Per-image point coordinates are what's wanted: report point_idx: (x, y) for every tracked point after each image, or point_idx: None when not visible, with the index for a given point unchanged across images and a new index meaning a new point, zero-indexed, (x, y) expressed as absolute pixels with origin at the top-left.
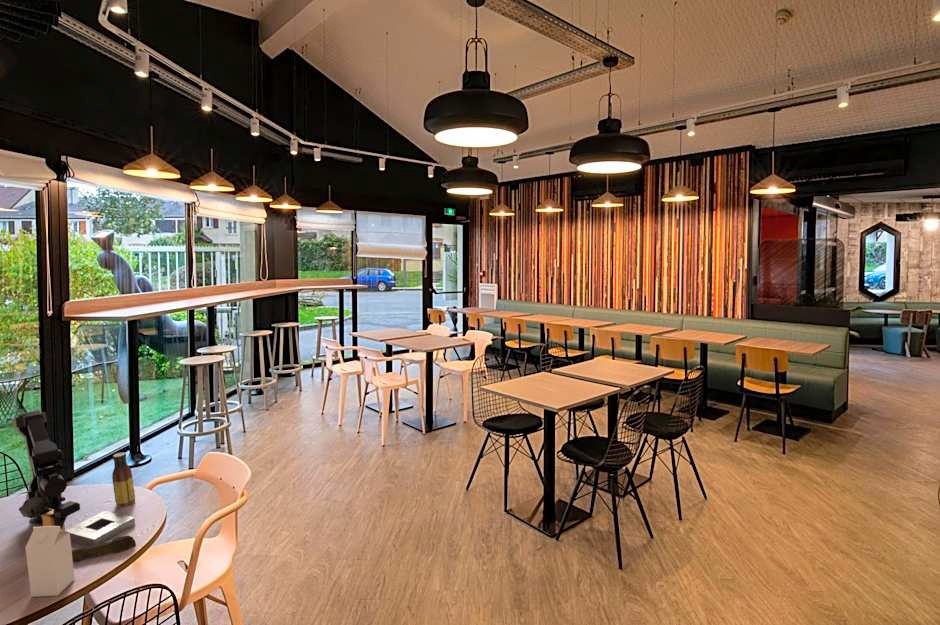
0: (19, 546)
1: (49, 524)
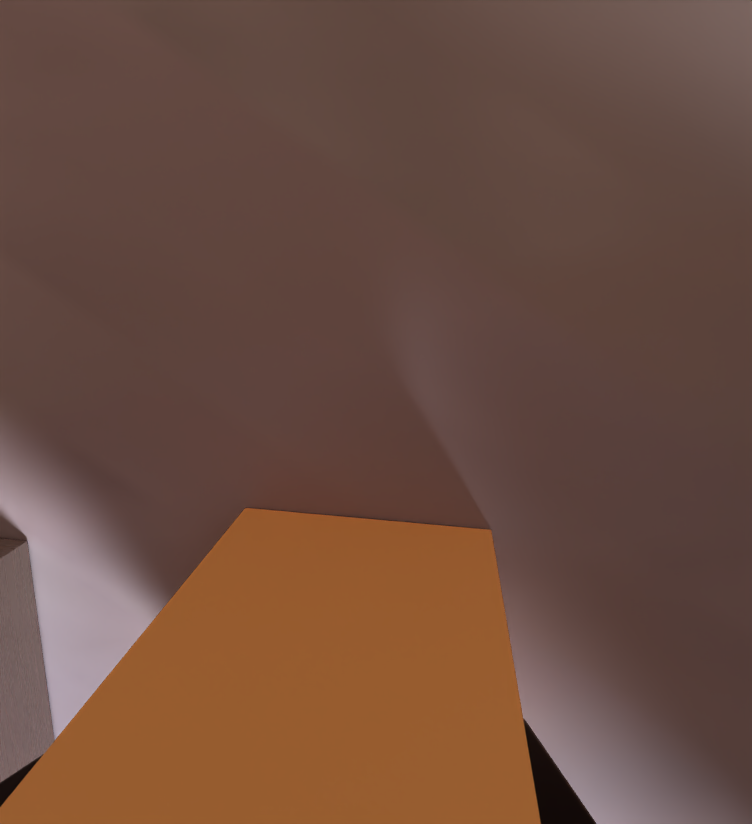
0: (693, 89)
1: (121, 805)
